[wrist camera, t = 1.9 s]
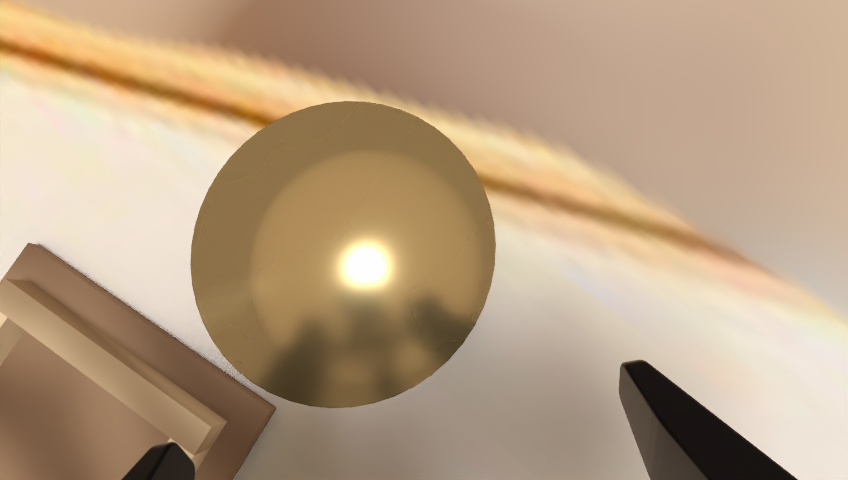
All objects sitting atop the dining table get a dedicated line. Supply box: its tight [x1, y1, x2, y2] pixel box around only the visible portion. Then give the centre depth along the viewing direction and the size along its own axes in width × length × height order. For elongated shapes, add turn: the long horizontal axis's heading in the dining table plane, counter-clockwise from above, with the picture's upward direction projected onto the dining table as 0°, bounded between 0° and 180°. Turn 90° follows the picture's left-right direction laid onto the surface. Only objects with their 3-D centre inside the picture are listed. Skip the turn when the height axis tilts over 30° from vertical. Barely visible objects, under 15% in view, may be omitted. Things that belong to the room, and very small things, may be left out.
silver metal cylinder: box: [191, 101, 496, 408], centre depth 14 cm, size 5×5×13 cm
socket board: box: [0, 243, 276, 480], centre depth 19 cm, size 14×14×2 cm
